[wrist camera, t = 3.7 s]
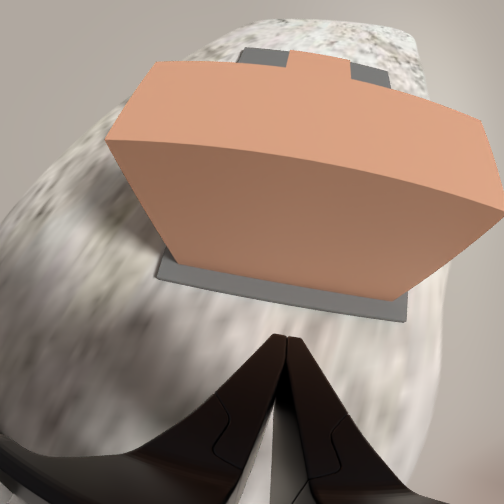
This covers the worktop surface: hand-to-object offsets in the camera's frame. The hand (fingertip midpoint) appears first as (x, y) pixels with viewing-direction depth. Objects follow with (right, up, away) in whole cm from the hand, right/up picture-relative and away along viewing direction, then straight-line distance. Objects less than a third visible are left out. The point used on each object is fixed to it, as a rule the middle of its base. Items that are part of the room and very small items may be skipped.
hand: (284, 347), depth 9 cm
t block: (+2, +7, +10) cm, 13 cm away
